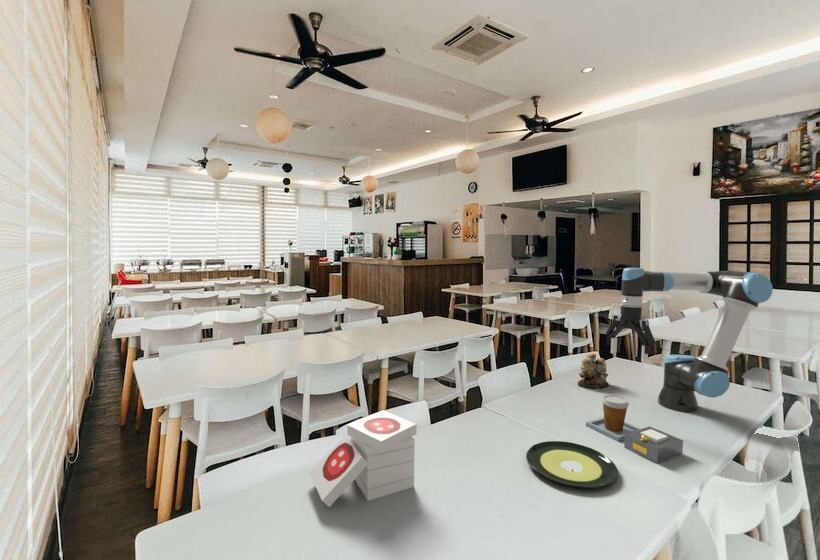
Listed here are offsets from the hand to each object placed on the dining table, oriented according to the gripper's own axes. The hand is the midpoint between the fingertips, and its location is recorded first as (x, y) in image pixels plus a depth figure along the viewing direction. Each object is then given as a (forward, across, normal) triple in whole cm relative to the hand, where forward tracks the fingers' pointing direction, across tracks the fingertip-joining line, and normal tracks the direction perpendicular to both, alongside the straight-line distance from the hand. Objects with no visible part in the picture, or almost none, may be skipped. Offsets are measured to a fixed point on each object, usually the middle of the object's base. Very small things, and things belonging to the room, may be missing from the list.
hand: (628, 357), depth 166 cm
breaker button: (+26, +21, -14) cm, 36 cm away
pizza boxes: (+27, -4, -113) cm, 116 cm away
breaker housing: (+27, +21, -14) cm, 37 cm away
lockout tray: (+27, +4, -12) cm, 30 cm away
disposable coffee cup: (+26, +4, -12) cm, 29 cm away
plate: (+27, +16, -49) cm, 58 cm away
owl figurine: (+27, -35, +23) cm, 50 cm away
